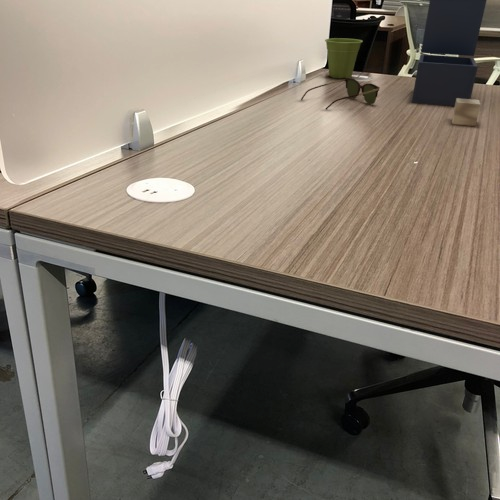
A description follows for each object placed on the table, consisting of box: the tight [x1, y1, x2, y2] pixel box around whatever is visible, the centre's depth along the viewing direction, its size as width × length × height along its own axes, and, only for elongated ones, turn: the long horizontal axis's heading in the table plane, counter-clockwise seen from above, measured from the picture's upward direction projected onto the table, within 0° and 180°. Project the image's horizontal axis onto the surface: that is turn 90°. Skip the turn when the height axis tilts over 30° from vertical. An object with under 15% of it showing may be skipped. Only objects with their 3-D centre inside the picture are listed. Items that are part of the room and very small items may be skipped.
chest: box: [411, 53, 479, 107], centre depth 135 cm, size 18×14×10 cm
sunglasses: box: [300, 77, 380, 110], centre depth 128 cm, size 14×15×5 cm
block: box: [451, 98, 481, 127], centre depth 112 cm, size 5×5×5 cm
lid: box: [420, 0, 487, 57], centre depth 137 cm, size 19×14×6 cm
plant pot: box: [324, 37, 363, 80], centre depth 162 cm, size 12×12×11 cm
